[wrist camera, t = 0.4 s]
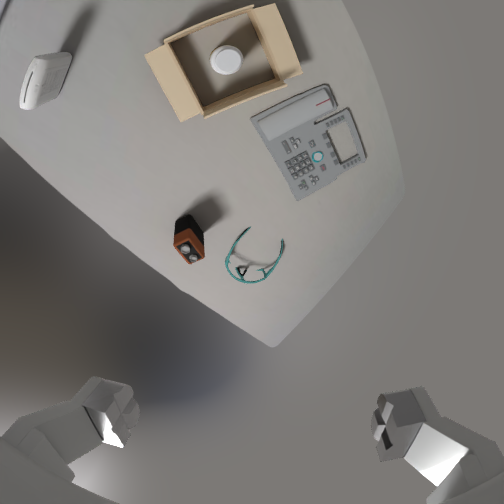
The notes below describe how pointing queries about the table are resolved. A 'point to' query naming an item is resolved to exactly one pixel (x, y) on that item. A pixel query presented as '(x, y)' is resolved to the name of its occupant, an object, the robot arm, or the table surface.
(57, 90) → the photo printer
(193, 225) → the battery
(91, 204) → the table surface
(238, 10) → the carton
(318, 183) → the office telephone
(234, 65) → the supplement bottle
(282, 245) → the sunglasses
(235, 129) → the table surface
